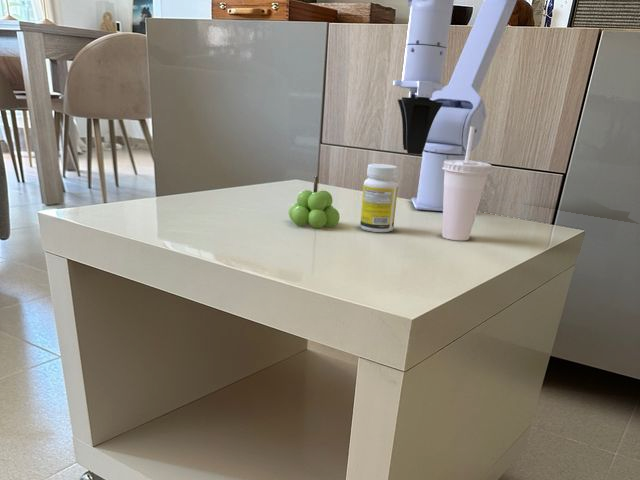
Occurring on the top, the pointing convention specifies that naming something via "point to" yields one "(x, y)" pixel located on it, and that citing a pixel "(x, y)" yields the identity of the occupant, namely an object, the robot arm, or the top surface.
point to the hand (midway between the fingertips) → (412, 152)
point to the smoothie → (462, 193)
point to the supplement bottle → (379, 198)
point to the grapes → (314, 208)
